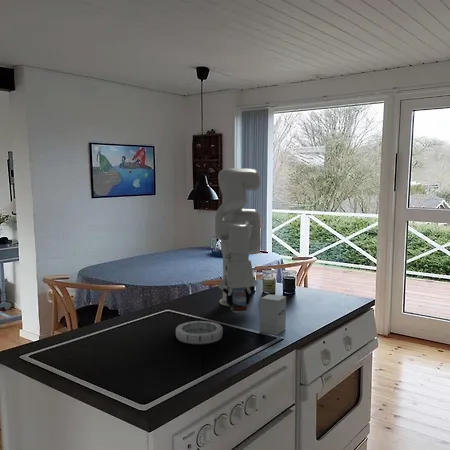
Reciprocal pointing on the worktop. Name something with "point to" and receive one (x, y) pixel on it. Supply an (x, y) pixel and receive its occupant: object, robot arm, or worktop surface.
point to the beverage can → (238, 300)
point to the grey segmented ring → (199, 332)
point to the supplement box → (272, 314)
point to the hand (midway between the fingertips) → (238, 303)
